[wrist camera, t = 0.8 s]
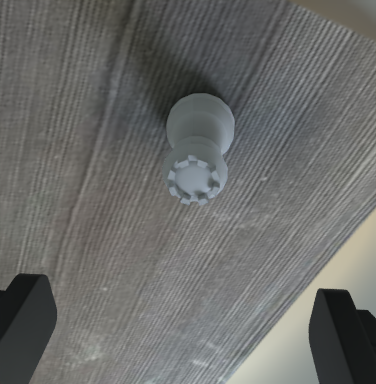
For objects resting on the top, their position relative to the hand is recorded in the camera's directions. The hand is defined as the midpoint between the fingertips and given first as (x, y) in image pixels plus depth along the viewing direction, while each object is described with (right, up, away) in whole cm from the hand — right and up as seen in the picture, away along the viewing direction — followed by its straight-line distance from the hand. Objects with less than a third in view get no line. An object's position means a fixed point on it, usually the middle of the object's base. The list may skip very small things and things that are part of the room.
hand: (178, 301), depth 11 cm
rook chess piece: (+1, +8, +13) cm, 15 cm away
